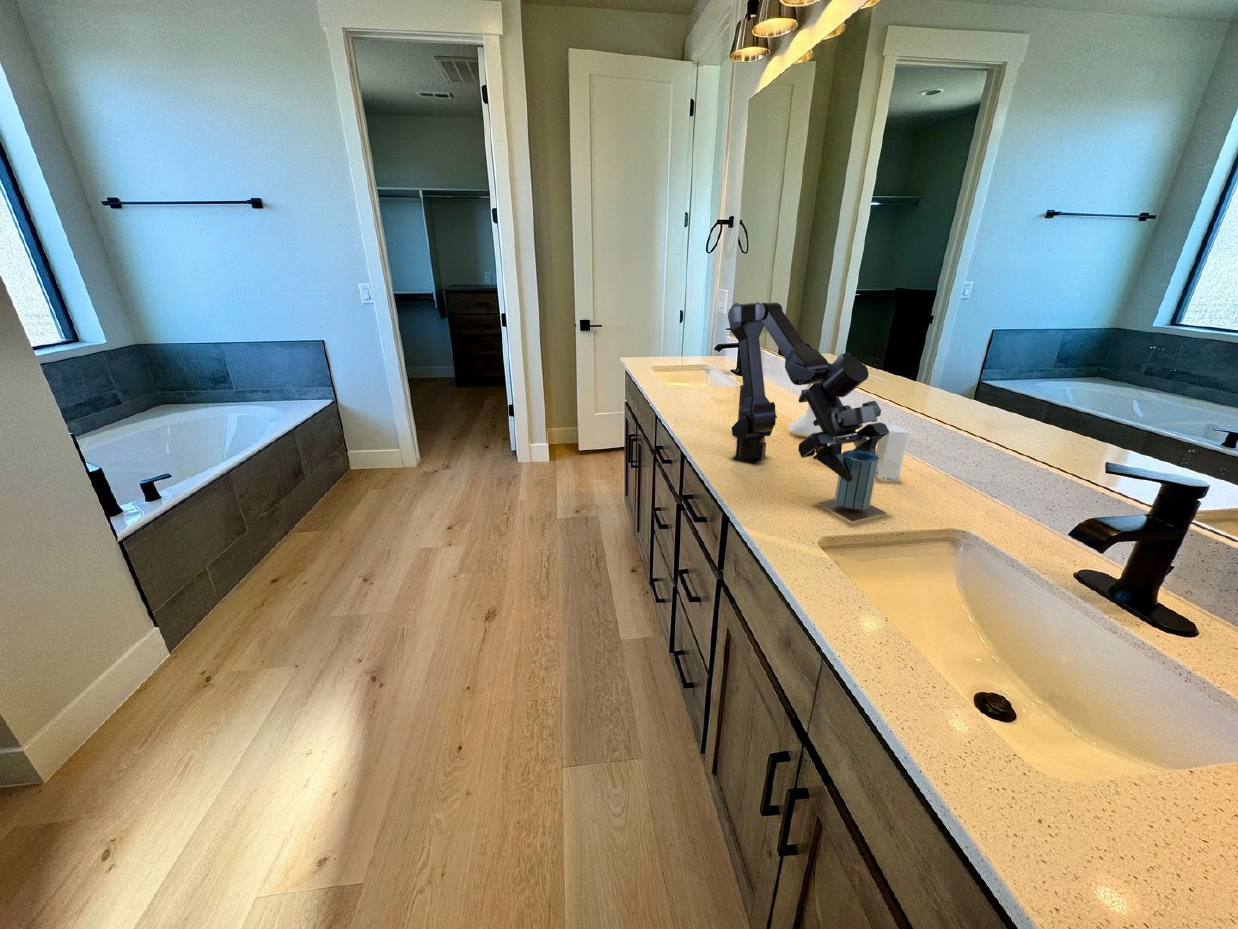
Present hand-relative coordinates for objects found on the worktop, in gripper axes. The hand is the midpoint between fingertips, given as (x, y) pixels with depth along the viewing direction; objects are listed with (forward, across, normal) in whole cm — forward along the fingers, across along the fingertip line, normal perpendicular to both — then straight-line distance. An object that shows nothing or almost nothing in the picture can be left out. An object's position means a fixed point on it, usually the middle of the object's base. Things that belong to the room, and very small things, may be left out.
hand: (862, 478), depth 95 cm
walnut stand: (+5, 0, +6) cm, 8 cm away
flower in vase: (-25, +27, +37) cm, 52 cm away
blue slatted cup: (+3, 0, +5) cm, 6 cm away
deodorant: (-30, +11, +42) cm, 52 cm away
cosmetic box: (-2, +21, +14) cm, 25 cm away
